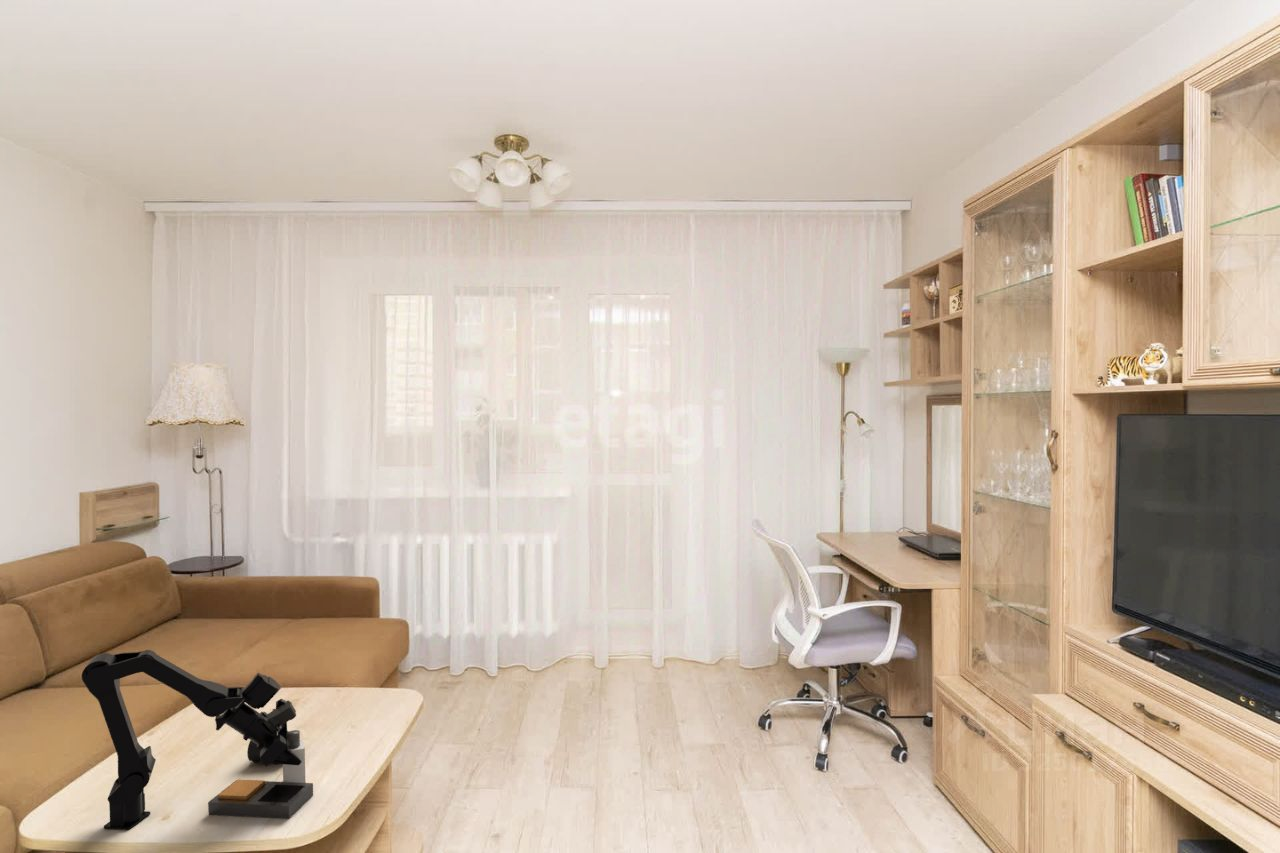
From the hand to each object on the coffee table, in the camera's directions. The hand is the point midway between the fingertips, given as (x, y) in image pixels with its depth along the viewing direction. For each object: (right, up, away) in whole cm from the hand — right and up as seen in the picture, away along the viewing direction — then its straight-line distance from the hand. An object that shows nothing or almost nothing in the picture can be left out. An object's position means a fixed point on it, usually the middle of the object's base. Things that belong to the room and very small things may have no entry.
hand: (299, 756), depth 180 cm
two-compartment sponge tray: (-4, -7, -10) cm, 13 cm away
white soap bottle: (-1, -7, 0) cm, 7 cm away
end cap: (-13, -7, +12) cm, 19 cm away
